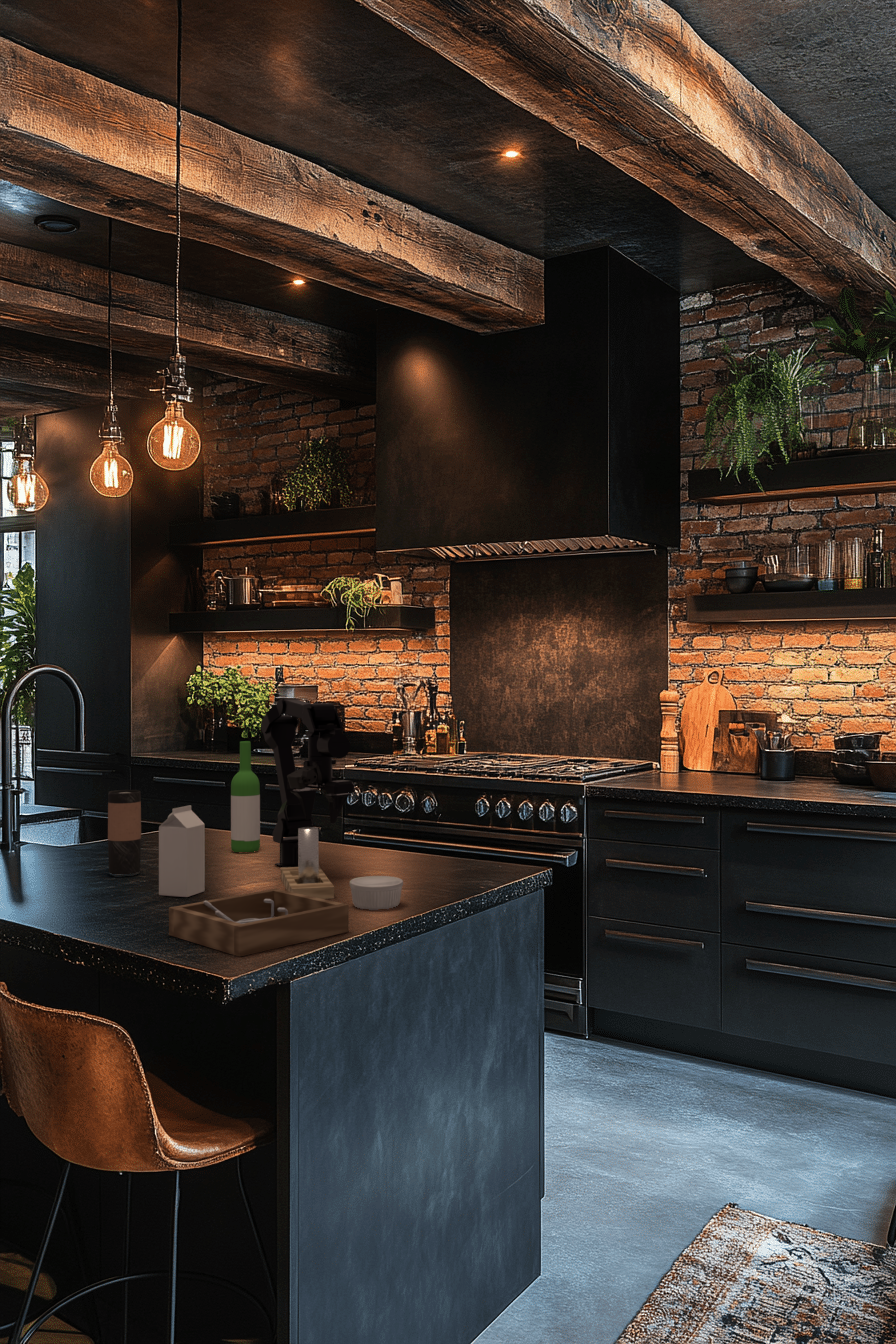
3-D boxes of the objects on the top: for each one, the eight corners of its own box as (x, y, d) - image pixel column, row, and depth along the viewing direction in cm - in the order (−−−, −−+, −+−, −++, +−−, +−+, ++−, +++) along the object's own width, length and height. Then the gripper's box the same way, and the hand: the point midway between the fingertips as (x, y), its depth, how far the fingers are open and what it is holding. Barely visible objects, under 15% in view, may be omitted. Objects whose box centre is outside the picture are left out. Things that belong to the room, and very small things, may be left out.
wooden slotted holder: (280, 878, 249) (280, 867, 249) (318, 876, 251) (318, 865, 251) (291, 900, 223) (291, 888, 223) (334, 898, 226) (334, 886, 226)
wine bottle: (236, 849, 292) (236, 740, 292) (263, 849, 291) (263, 740, 291) (226, 853, 284) (226, 742, 284) (254, 854, 283) (254, 742, 283)
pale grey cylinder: (294, 893, 231) (294, 829, 232) (306, 889, 235) (305, 826, 235) (311, 894, 229) (310, 830, 230) (322, 891, 233) (322, 827, 233)
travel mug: (147, 873, 256) (147, 790, 256) (125, 878, 249) (125, 793, 249) (123, 870, 259) (123, 789, 259) (100, 876, 252) (100, 792, 252)
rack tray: (168, 934, 194) (168, 907, 194) (275, 913, 211) (275, 888, 211) (239, 956, 178) (239, 927, 178) (348, 931, 196) (348, 904, 196)
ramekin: (382, 914, 211) (382, 887, 211) (338, 908, 217) (338, 882, 217) (413, 904, 220) (413, 878, 220) (370, 898, 226) (370, 873, 226)
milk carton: (204, 891, 233) (204, 805, 233) (186, 898, 226) (186, 809, 227) (177, 889, 235) (177, 804, 236) (158, 896, 229) (158, 808, 229)
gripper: (269, 755, 252) (269, 821, 252) (318, 759, 239) (318, 828, 239) (305, 753, 260) (305, 816, 260) (355, 757, 247) (356, 823, 247)
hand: (320, 821), depth 251 cm, fingers open, 9 cm apart
